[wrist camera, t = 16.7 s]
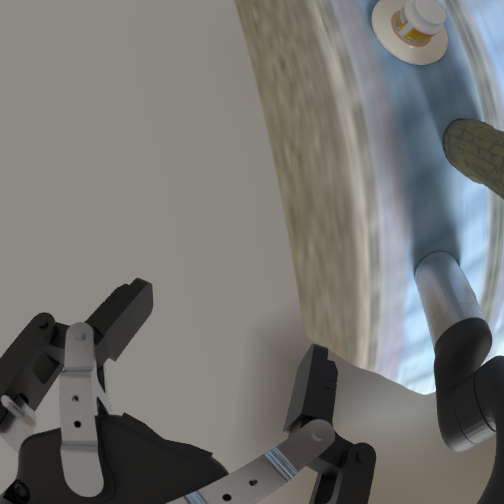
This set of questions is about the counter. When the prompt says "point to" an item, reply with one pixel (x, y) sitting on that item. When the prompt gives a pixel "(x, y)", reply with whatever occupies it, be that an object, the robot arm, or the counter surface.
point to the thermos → (476, 152)
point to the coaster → (400, 46)
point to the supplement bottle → (420, 20)
